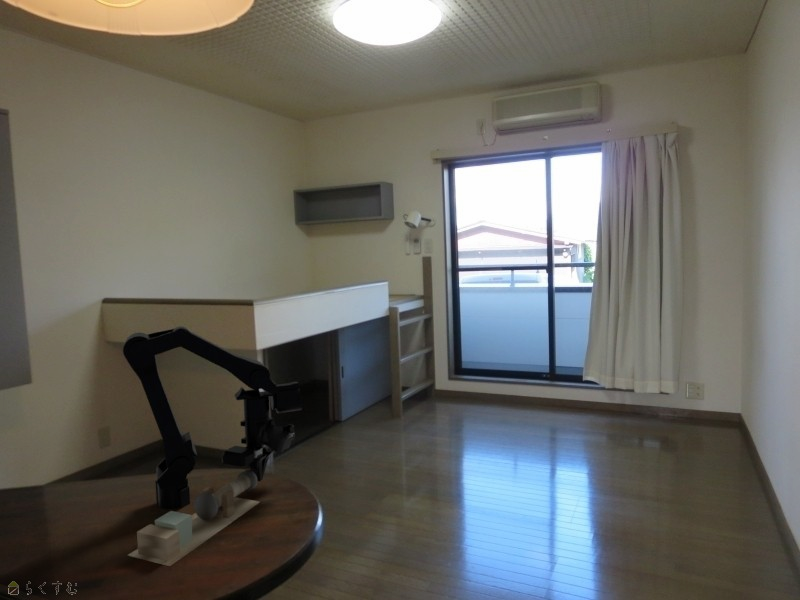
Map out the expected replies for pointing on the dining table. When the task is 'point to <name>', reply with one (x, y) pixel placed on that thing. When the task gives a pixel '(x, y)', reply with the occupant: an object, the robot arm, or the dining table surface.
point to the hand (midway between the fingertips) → (259, 480)
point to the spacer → (177, 525)
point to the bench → (166, 543)
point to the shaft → (210, 503)
